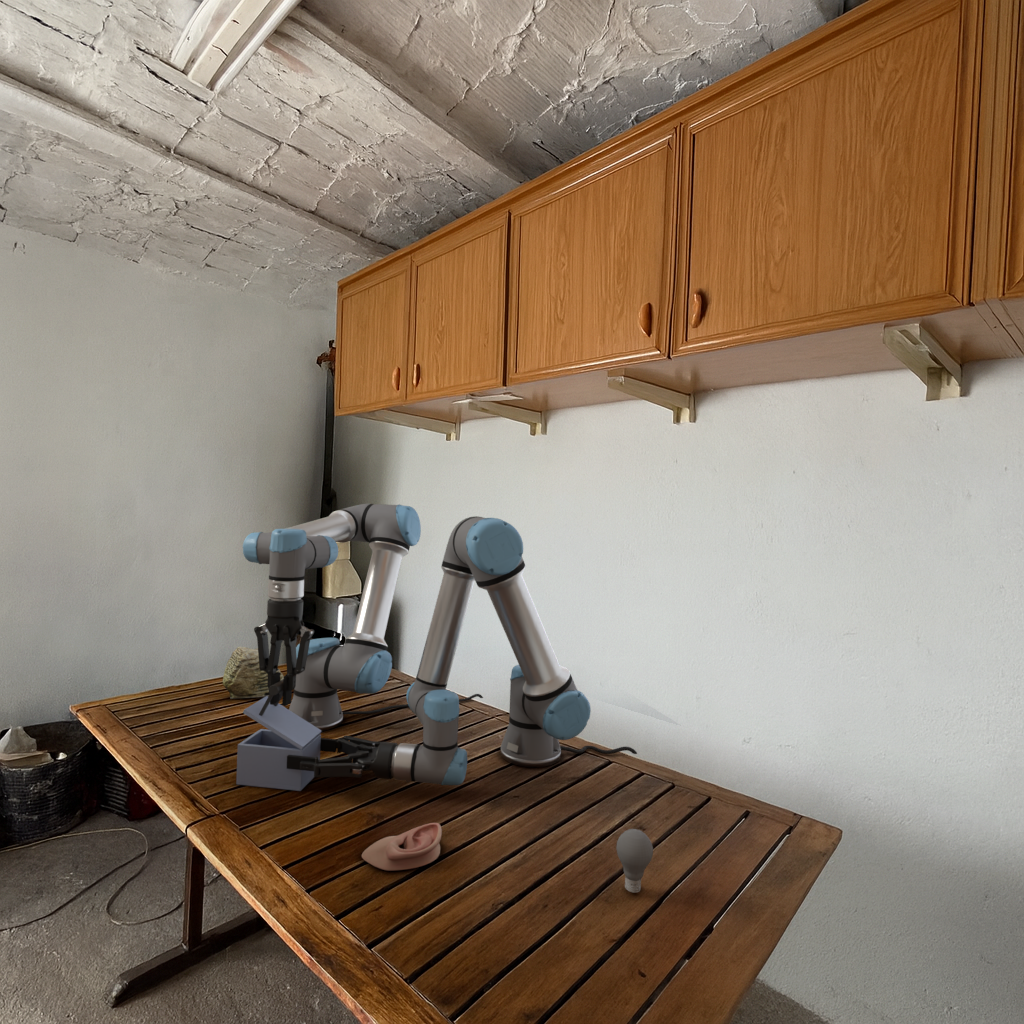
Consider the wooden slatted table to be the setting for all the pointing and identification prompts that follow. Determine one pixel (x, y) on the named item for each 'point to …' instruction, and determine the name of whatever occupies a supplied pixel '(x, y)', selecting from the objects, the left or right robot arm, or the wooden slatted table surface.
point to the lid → (282, 719)
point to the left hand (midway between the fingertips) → (280, 703)
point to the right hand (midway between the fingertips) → (298, 752)
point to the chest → (273, 761)
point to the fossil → (246, 675)
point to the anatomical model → (406, 849)
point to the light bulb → (634, 857)
